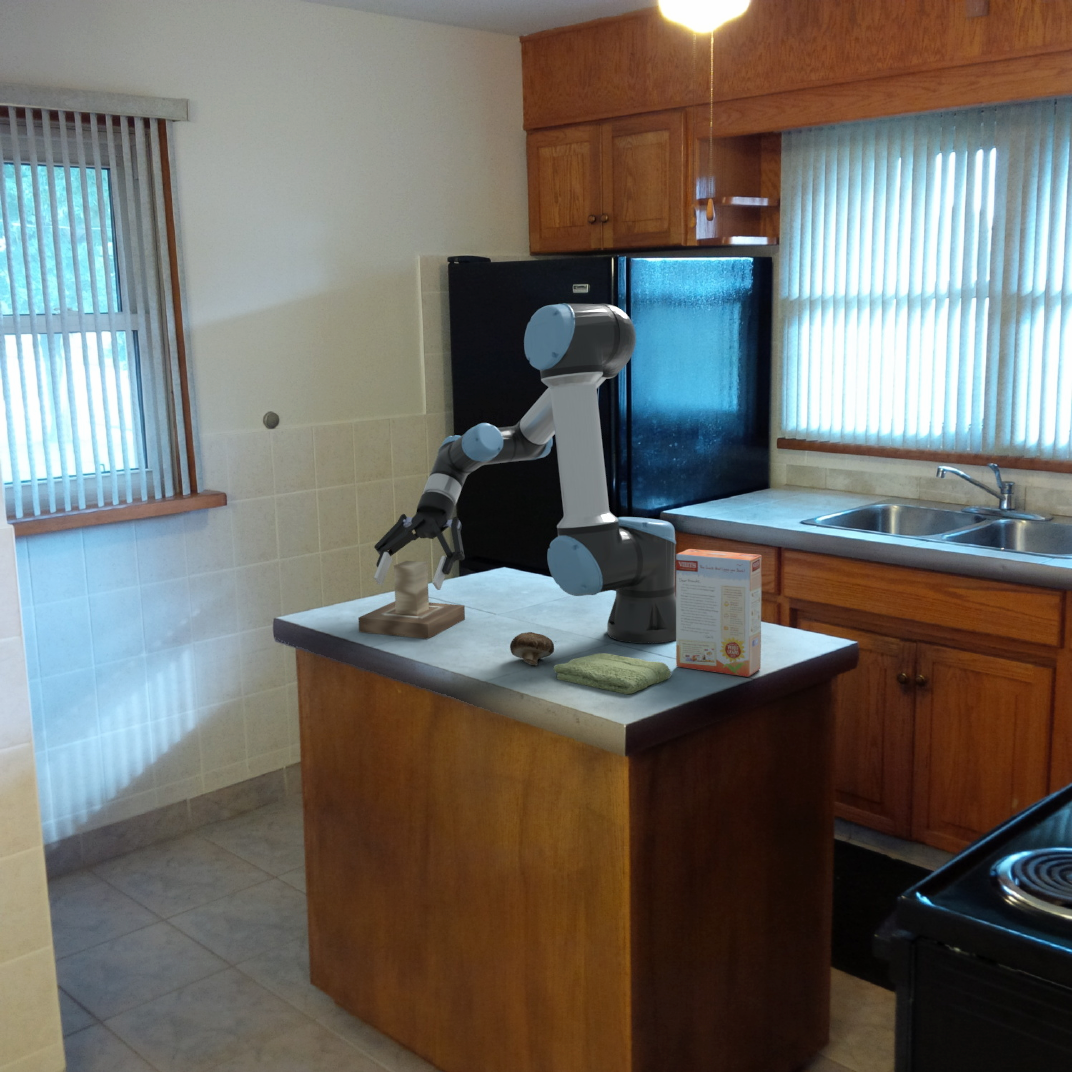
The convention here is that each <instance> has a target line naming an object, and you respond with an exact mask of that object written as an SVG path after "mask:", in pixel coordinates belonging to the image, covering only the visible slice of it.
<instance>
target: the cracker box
mask: <svg viewBox="0 0 1072 1072" xmlns="http://www.w3.org/2000/svg"><path fill="white" fill-rule="evenodd" d="M675 597H676V641H675V643H676V645H675V647H676V651H675V655H676V656H675V659H676V662H675V663H676V664H675V665H676V667H679V668H684V669H690V670H691V669H693V670H698V671H706V672H713V673H718V674H719V673H720V674H725V675H726V674H727V675H733V676H737V677H738V676H740V677H746V678H748V677H751V675H753V674H755V673H756V672H757V671H759V670H761V660H762V659H761V657H762V656H761V655H762V654H761V653H762V652H761V650H762V649H761V648H762V646H761V645H762V643H761V642H762V554H755V553H754V554H753V553H742V552H732V551H718V550H709V549H708V550H707V549H694V548H688V549H687V548H686V549H685V550H683V551H680V552H678V553H676V554H675Z"/></svg>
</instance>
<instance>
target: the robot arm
mask: <svg viewBox="0 0 1072 1072" xmlns="http://www.w3.org/2000/svg"><path fill="white" fill-rule="evenodd" d="M636 339H637V337H636V329H635V325H634V324H633V321H632V320H631V318H630V316H628V314H627V313H626V312H625V311H624V310H622V309H620V308H619V307H617V306H615V305H612V304H608V303H594V304H593V303H558V304H549V305H545V306H543V307H541V308H538V309H537V310H536V312H534V314H533V315H532V316H531V318H530V320H529V321H528V323H527V325H526V329H525V333H524V339H523V343H524V344H523V346H524V355H525V357H526V359H527V360H528V361H529V364H530V365H531V366H532V367H533V368H534V369H537V370H539V372H540V381H541V382H542V383H543V384H544V385H545V386H547V387H548V388H547V389H545V391H544V392H543V393H542V395H540V396H539V398H538V399H537V400H536V402H535V403H533V405H532V406H531V407H530V409H528V411H527V412H526V413H525V414H524V416H523V417H522V418H521V419H520V420H519V421H518V422H517V423H516V424H515V425H513V426H503V427H496V426H495V425H493V424H490V423H487V422H481V423H478V424H477V425H475V426H473V427H470V429H467V431H465V433H464V434H462V435H456V434H455V435H453V436H452V435H449V436H447V437H445V439H444V440H443V442H442V443H441V446H440V447H439V448H438V452H437V456H436V458H435V461H434V463H433V466H432V468H431V472H430V473H429V477H428V479H427V481H426V483H425V486H424V489H423V492H422V495H421V496H420V499H419V501H418V504H417V507H416V511H415V512H416V513H415V514H414V516H413V517H411V516H407V514H405V513H402V514H400V516H399V518H398V520H397V522H395V524H394V525H393V526H392V527H391V528H390V529H389V530H388V531H387V532H386V533H385V534H384V535H383V537H381V538H380V539H379V541H378V542H376V543H375V545H374V549H375V551H376V552H377V553H378V555H379V556H378V558H377V562H376V564H375V565H376V567H377V569H376V571H375V573H374V576H373V580H375V582H376V584H377V585H379V586H383V584H384V582H385V579H386V576H387V574H388V572H389V569H390V566H391V564H392V561H393V558H392V556H393V555H394V554H395V553H397V552H399V551H400V550H401V549H403V548H404V547H405V546H407V545H408V544H409V543H411V542H413V541H416V540H417V539H419V538H420V539H430V540H434V539H435V538H437V541H438V542H439V544H440V545H441V547H442V550H443V551H444V554H445V555H441V558H440V560H439V563H438V566H437V569H436V571H435V574H434V576H433V579H432V582H431V583H432V585H433V586H434V587H435V589H436V590H437V591H440V590H441V589H442V586H443V583H444V581H445V578H446V575H450V573H451V571H452V568H453V566H454V564H455V562H457V561H460V562H461V561H464V560H465V553H464V552H465V551H464V546H463V541H462V535H461V530H462V526H463V525H462V522H461V521H460V520H459V517H458V516H454V517H453V518H452V516H453V514H454V511H455V509H456V507H455V506H456V505H457V503H458V500H459V497H460V495H461V491H462V489H463V486H464V484H465V482H466V479H467V477H468V475H470V474H471V473H473V472H474V471H476V470H477V469H479V468H480V467H482V466H485V465H486V466H487V465H494V464H500V463H501V464H502V463H510V462H511V463H512V462H519V461H522V462H523V461H535V460H537V459H541V458H545V457H546V456H548V455H549V454H550V453H551V449H552V447H553V436H554V435H555V436H554V437H555V443H556V446H555V447H556V454H557V465H558V473H559V474H558V475H559V483H560V491H561V500H562V510H563V517H562V518H561V520H560V521H559V522H558V523H557V525H556V528H557V536H556V537H555V538H554V539H552V540H551V542H550V544H549V547H548V549H547V555H546V556H547V565H548V568H549V572H550V575H551V577H552V578H553V581H554V582H555V583H556V584H557V585H558V586H559V588H560V589H561V590H562V591H563V592H564V593H566V594H568V595H570V596H573V597H583V596H595V595H597V594H600V593H604V592H608V591H609V592H610V591H614V590H615V598H614V600H613V604H612V607H611V610H610V614H609V615H608V616H609V617H608V620H607V626H606V627H607V629H606V630H607V632H606V633H607V636H609V637H610V638H611V639H614V640H616V641H621V642H625V643H633V644H659V643H667V642H673V641H675V640H676V554H677V553H676V551H677V550H676V549H677V548H676V545H677V541H676V533H675V532H676V530H675V527H674V525H673V524H672V523H671V522H669V521H667V520H662V519H655V518H648V517H647V518H645V517H635V516H634V517H633V516H619V517H617V516H615V515H614V514H613V513H612V512H611V511H610V507H609V506H610V505H609V496H608V486H607V476H606V475H607V474H606V467H605V458H604V448H603V439H602V438H603V437H602V429H601V428H602V427H601V419H600V409H599V402H598V401H599V400H598V391H597V389H598V388H599V387H600V386H601V385H602V384H603V383H604V382H605V380H606V379H613V378H615V377H616V376H618V374H619V373H620V372H621V371H622V370H623V369H624V367H625V366H627V363H629V361H630V360H631V357H632V355H633V353H634V351H635V347H636V341H637V340H636ZM448 528H450V530H451V537H452V542H453V548H454V551H452V549H451V547H450V545H449V543H448V541H447V539H446V537H445V536H444V534H443V532H444V531H446V530H447V529H448ZM413 531H414V533H413Z"/></svg>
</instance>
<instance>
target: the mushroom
mask: <svg viewBox="0 0 1072 1072" xmlns="http://www.w3.org/2000/svg"><path fill="white" fill-rule="evenodd" d="M554 644H555V643H554V642H553V640H552V639H551V638H549V637H548V636H546V635H544V634H541V633H538V632H537V633H535V632H533V631H528V632H521V633H520V634H517V635H515V636H514V638H512V640H511V642H510V645H509V649H510V653H511V654H512V655H513V656H514V657H516V658H519V659H522V660H523V662H525V663H527V664H529V665H531V666H532V665H533V666H538V660H540V659H545V658H549V657H550V656H552V655H553V653H554V651H555V645H554Z"/></svg>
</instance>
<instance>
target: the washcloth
mask: <svg viewBox="0 0 1072 1072" xmlns="http://www.w3.org/2000/svg"><path fill="white" fill-rule="evenodd" d="M553 672H554V673H556V674H557V675H556V678H557V680H560V681H564V682H568V683H573V684H577V685H583V686H586V687H591V688H597V689H602V690H604V691H610V692H615V693H621V694H625V695H632V694H635V693H637V692H638V691H641V690H645V689H647V688H648V687H649V686H652V685H656V684H659V683H661V682H664V681H667V680H668V679H669V678H670V677H671V675H672V671H671V669H670V667H669V666H668V665H667V664H666V663H664V662H661V661H651V660H650V661H648V660H644V659H641V658H635V657H634V658H633V657H630V656H629V657H628V656H624V655H623V656H620V655H618V654H612V653H607V652H606V653H605V652H602V653H593V654H590V655H585V656H581V657H578V658H577V657H576V658H573V659H570V661H567V662H566V663H559V664H555V665H554V666H553Z"/></svg>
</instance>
